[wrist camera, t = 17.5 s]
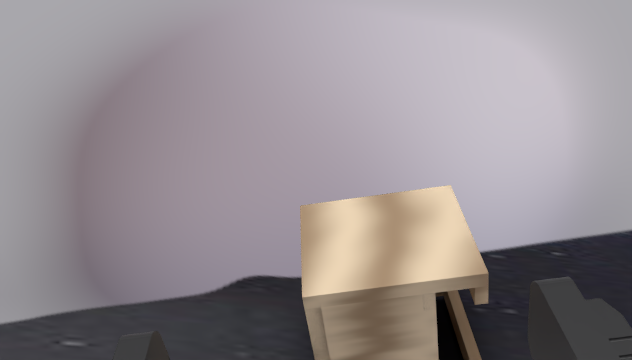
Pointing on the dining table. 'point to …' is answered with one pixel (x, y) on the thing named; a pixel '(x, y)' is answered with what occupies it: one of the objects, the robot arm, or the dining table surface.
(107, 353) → the dining table surface
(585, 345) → the robot arm
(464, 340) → the box
